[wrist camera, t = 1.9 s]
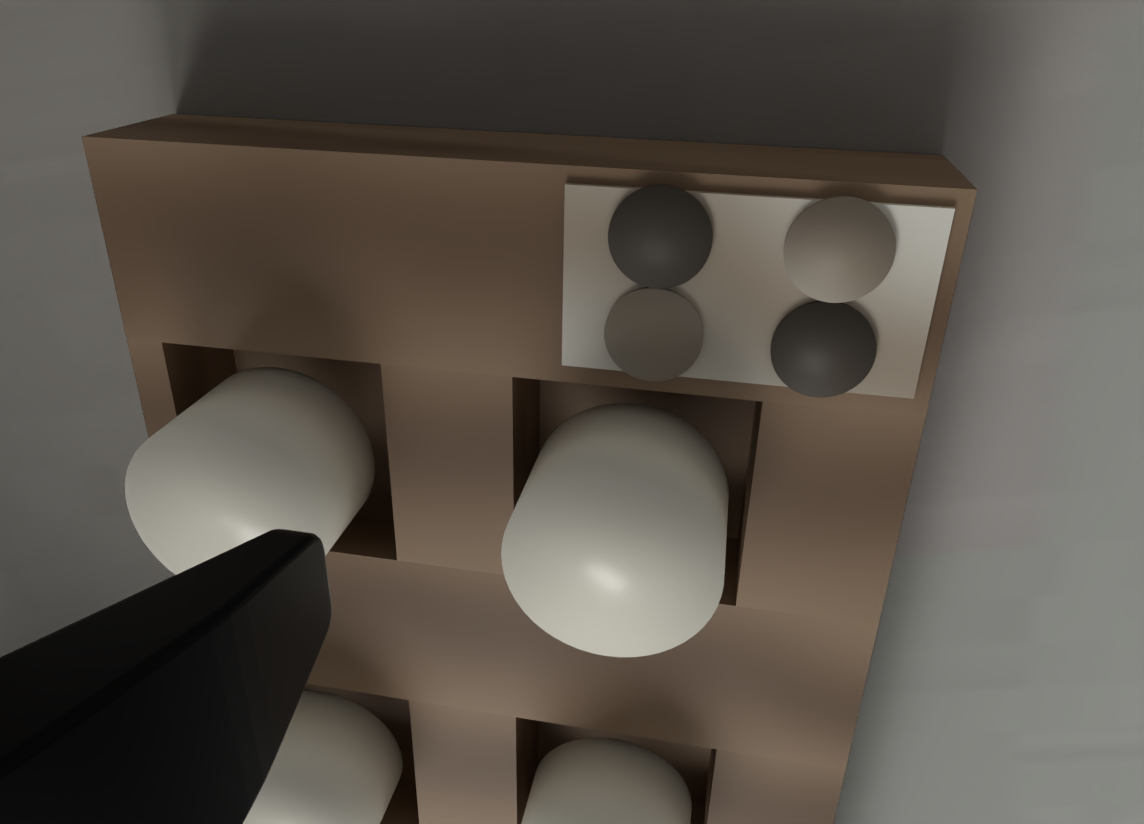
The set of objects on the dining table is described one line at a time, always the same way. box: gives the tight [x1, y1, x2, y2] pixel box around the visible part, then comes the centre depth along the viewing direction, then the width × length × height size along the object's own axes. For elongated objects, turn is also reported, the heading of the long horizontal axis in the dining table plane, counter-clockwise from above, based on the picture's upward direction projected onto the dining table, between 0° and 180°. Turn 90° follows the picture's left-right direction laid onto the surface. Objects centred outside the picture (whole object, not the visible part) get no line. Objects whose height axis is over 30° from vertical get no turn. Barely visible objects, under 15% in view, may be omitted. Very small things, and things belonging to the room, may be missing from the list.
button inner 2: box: [125, 367, 375, 575], centre depth 18 cm, size 4×4×3 cm
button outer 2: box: [501, 403, 729, 657], centre depth 17 cm, size 4×4×3 cm
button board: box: [82, 114, 977, 824], centre depth 22 cm, size 22×16×3 cm
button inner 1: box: [243, 691, 403, 824], centre depth 22 cm, size 4×4×3 cm
